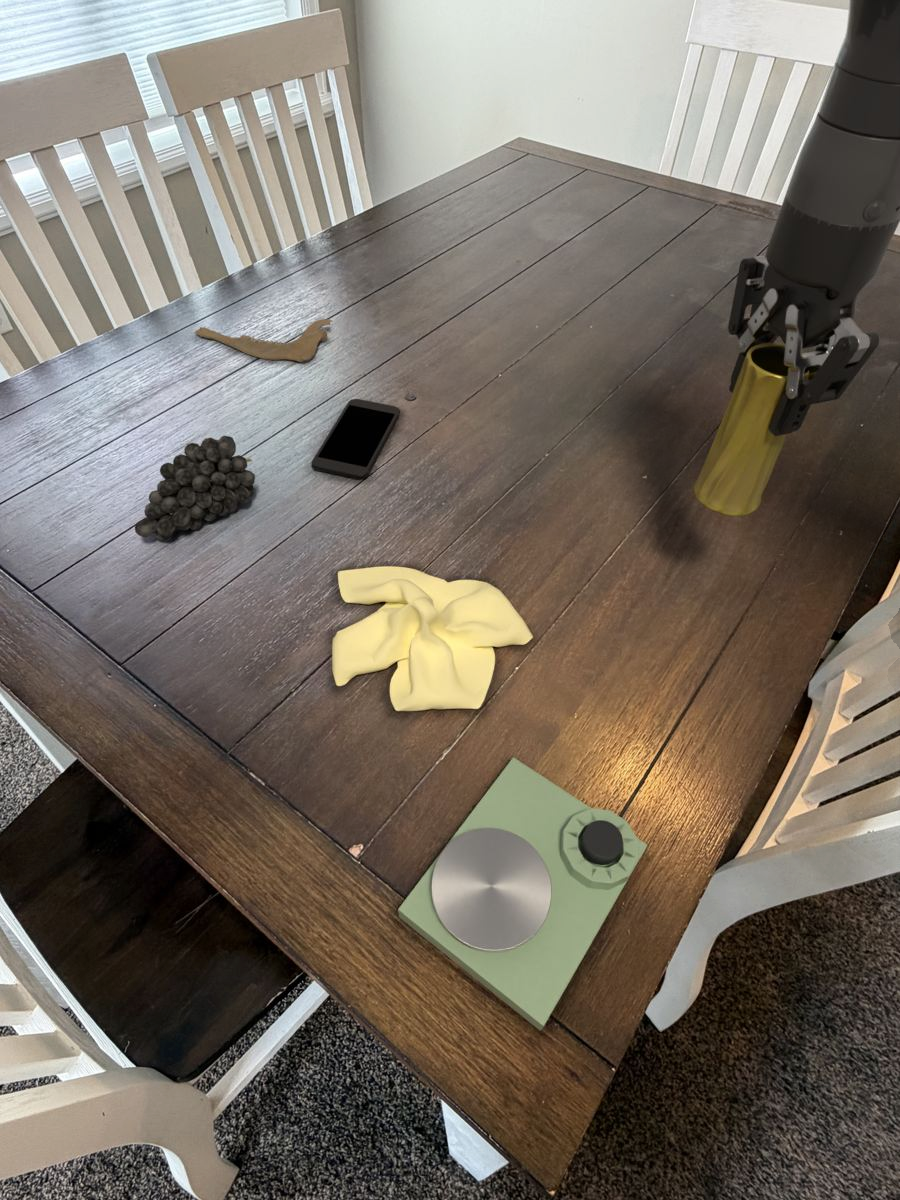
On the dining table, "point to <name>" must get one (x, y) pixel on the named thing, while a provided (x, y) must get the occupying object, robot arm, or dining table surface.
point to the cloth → (425, 636)
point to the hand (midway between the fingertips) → (760, 410)
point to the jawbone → (275, 343)
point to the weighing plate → (491, 890)
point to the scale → (577, 891)
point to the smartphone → (356, 439)
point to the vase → (746, 436)
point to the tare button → (601, 842)
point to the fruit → (197, 488)
